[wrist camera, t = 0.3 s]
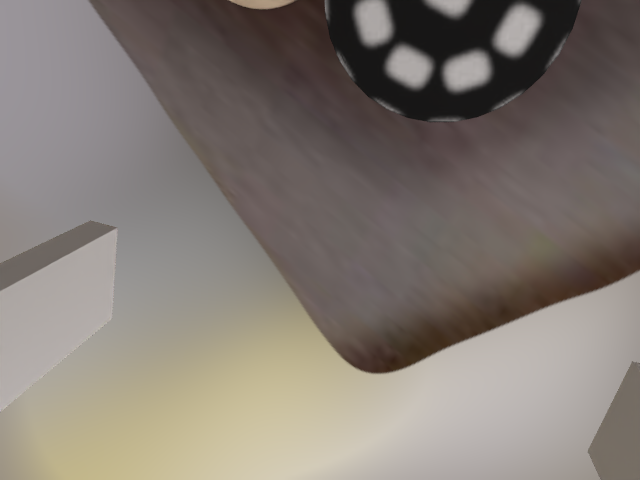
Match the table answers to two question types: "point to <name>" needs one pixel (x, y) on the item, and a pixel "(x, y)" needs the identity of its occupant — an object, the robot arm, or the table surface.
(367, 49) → the white-spotted black cylinder
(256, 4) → the cork pad
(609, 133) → the table surface
